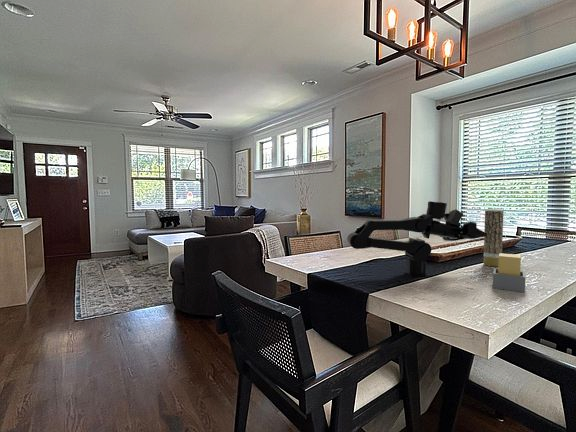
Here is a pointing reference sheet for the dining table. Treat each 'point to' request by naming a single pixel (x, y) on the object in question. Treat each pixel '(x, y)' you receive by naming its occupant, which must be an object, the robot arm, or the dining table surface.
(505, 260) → the ochre block
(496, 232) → the bark textured cylinder
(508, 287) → the sleeve
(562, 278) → the dining table surface
